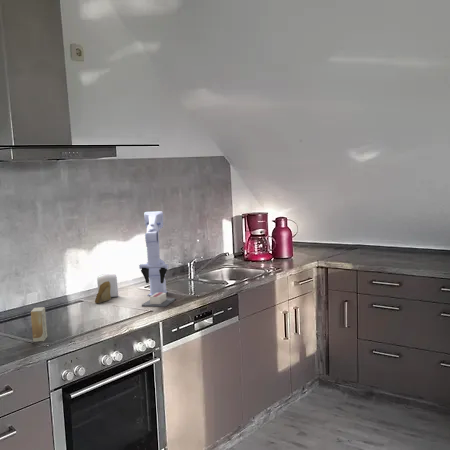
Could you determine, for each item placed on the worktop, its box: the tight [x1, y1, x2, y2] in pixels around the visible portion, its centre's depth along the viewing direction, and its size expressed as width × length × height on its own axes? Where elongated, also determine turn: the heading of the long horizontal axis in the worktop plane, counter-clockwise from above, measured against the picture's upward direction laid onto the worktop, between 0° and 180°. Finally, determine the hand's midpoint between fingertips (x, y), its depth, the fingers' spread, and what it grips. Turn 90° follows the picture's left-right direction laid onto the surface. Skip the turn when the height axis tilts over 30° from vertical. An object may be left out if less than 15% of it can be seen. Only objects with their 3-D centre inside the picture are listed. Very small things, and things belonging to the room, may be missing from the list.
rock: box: [94, 281, 112, 304], centre depth 287 cm, size 11×9×10 cm
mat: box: [141, 297, 176, 308], centre depth 276 cm, size 14×12×1 cm
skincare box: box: [30, 306, 48, 343], centre depth 223 cm, size 6×4×12 cm
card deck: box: [149, 292, 167, 304], centre depth 276 cm, size 5×9×4 cm, turn 166°
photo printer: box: [96, 273, 119, 298], centre depth 294 cm, size 10×4×12 cm, turn 117°
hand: (154, 283), depth 280 cm, fingers open, 7 cm apart
